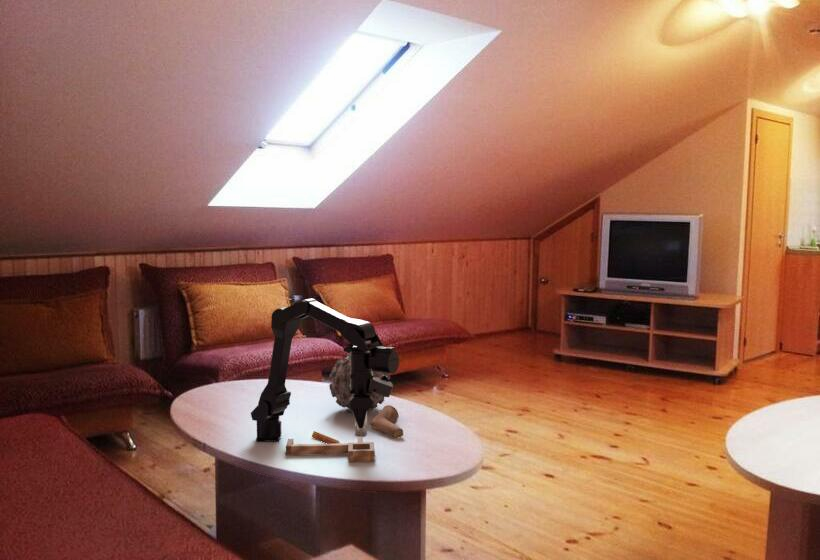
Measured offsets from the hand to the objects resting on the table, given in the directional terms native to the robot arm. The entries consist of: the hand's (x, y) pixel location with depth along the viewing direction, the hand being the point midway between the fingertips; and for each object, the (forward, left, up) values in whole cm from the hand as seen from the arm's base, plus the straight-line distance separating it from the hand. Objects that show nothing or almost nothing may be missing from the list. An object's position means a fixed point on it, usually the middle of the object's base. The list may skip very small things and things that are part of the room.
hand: (360, 426), depth 192 cm
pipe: (+9, +23, -9) cm, 27 cm away
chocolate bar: (-10, +14, -9) cm, 19 cm away
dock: (-8, +3, -9) cm, 12 cm away
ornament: (0, +45, -9) cm, 46 cm away
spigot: (0, 0, -3) cm, 2 cm away
